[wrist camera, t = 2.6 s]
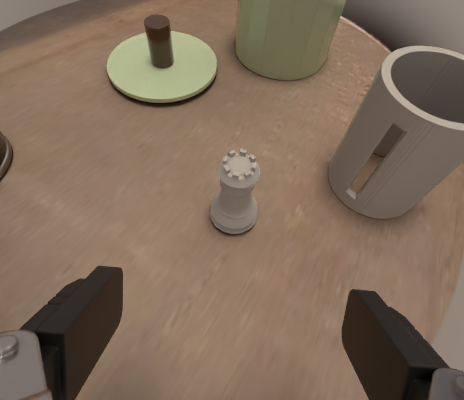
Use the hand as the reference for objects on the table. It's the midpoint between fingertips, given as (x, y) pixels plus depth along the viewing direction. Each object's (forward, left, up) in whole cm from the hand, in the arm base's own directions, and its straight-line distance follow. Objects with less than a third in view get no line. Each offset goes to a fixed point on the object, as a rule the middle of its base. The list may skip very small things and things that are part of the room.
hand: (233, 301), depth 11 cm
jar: (-5, +38, -15) cm, 41 cm away
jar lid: (-18, +28, -14) cm, 36 cm away
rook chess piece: (-3, +11, -15) cm, 19 cm away
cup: (+10, +20, -15) cm, 27 cm away
